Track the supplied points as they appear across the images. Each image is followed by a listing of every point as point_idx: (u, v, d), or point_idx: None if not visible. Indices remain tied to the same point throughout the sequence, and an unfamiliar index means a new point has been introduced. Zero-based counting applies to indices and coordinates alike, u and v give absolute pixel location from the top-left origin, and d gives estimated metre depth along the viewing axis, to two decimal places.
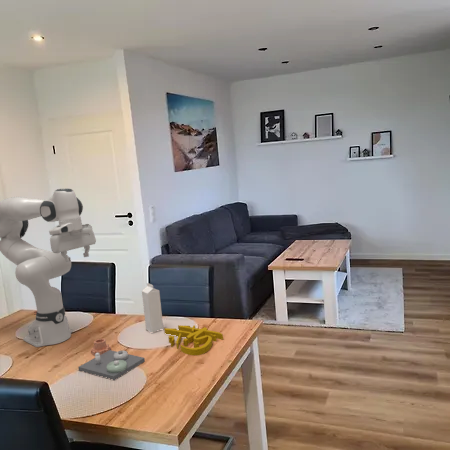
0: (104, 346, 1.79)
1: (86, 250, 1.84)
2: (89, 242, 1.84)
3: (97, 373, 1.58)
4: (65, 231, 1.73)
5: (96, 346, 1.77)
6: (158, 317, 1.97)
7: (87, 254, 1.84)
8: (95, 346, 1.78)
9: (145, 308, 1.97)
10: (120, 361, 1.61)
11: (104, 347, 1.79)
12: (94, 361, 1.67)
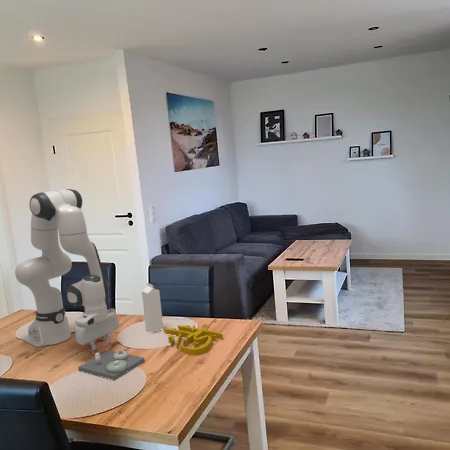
0: (104, 346, 1.79)
1: (106, 337, 1.82)
2: (113, 327, 1.83)
3: (97, 373, 1.58)
4: (91, 323, 1.72)
5: None
6: (158, 317, 1.97)
7: (107, 341, 1.82)
8: None
9: (145, 308, 1.97)
10: (120, 361, 1.61)
11: (104, 347, 1.79)
12: (94, 361, 1.67)
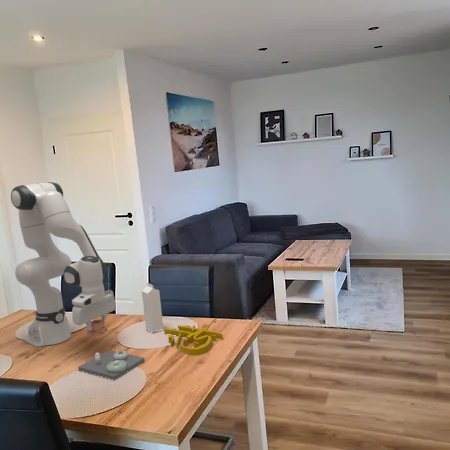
0: (101, 327, 1.78)
1: (103, 318, 1.82)
2: (110, 309, 1.83)
3: (97, 373, 1.58)
4: (88, 303, 1.71)
5: None
6: (158, 317, 1.97)
7: (103, 323, 1.81)
8: None
9: (145, 308, 1.97)
10: (120, 361, 1.61)
11: (101, 328, 1.78)
12: (94, 361, 1.67)
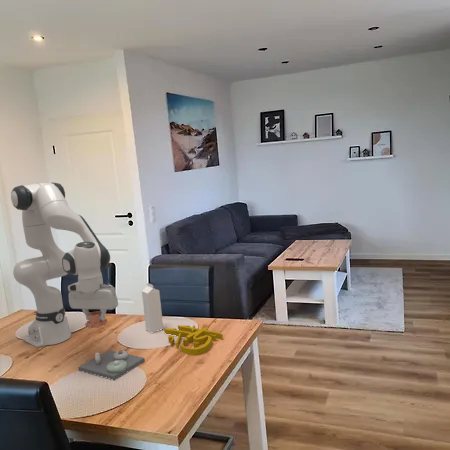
0: (92, 320, 1.63)
1: None
2: (104, 306, 1.61)
3: (97, 373, 1.58)
4: (73, 290, 1.63)
5: None
6: (158, 317, 1.97)
7: (100, 318, 1.63)
8: None
9: (145, 308, 1.97)
10: (120, 361, 1.61)
11: (92, 321, 1.63)
12: (94, 361, 1.67)
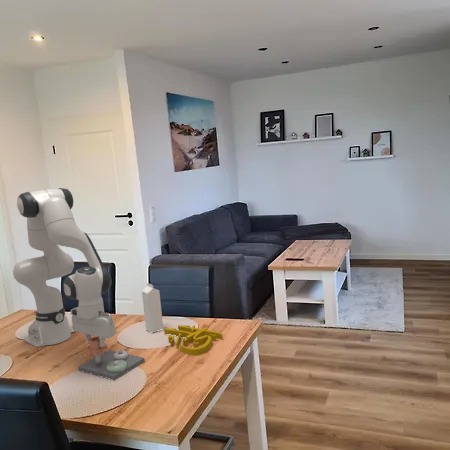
0: (91, 346, 1.62)
1: None
2: (102, 334, 1.58)
3: (97, 373, 1.58)
4: (75, 314, 1.62)
5: None
6: (158, 317, 1.97)
7: (99, 344, 1.61)
8: None
9: (145, 308, 1.97)
10: (120, 361, 1.61)
11: (91, 347, 1.62)
12: (94, 361, 1.67)
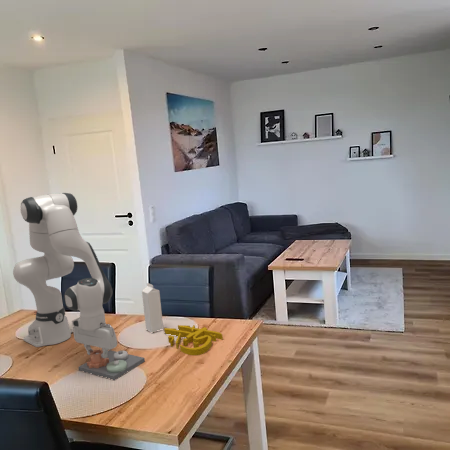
0: (93, 360, 1.62)
1: None
2: (103, 345, 1.59)
3: (97, 373, 1.58)
4: (76, 325, 1.63)
5: None
6: (158, 317, 1.97)
7: (102, 356, 1.61)
8: None
9: (145, 308, 1.97)
10: (120, 361, 1.61)
11: (93, 361, 1.63)
12: None
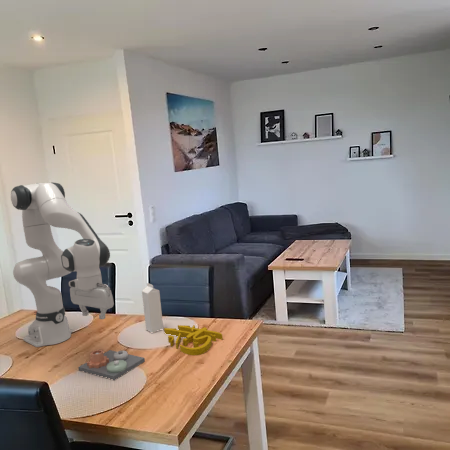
0: (93, 360, 1.62)
1: None
2: (99, 305, 1.59)
3: (97, 373, 1.58)
4: (73, 286, 1.63)
5: None
6: (158, 317, 1.97)
7: (100, 317, 1.61)
8: None
9: (145, 308, 1.97)
10: (120, 361, 1.61)
11: (93, 361, 1.63)
12: None
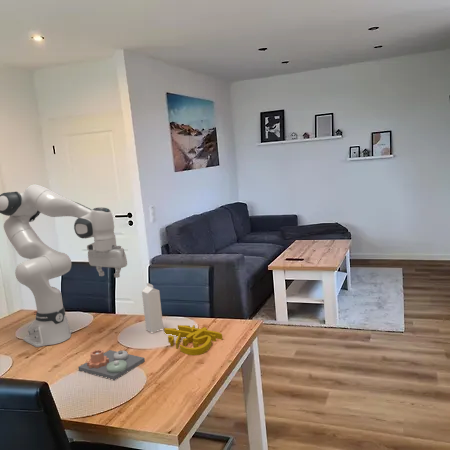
0: (93, 360, 1.62)
1: None
2: (115, 264, 1.81)
3: (97, 373, 1.58)
4: (91, 249, 1.85)
5: None
6: (158, 317, 1.97)
7: (115, 275, 1.83)
8: None
9: (145, 308, 1.97)
10: (120, 361, 1.61)
11: (93, 361, 1.63)
12: None
